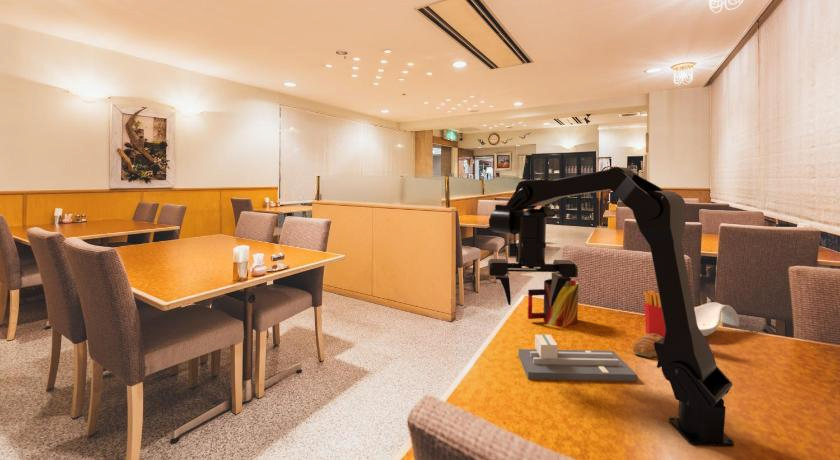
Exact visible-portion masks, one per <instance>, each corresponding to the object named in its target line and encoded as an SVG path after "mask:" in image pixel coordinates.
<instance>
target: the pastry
mask: <svg viewBox="0 0 840 460" xmlns="http://www.w3.org/2000/svg"><path fill="white" fill-rule="evenodd" d="M661 338H663V337H662V336H660V335H658V334H646V333H645V334H643V335H642V336H638V337H637V339H635V340H634V342H633V344H632V345H633V347H632V352H633V353H634V355H639V356H641V357H642V356H643V357H645V358H652V357H653V358H655V357H657V354H656V351H655V348H654V343H655V342H656V341H658V340H660V339H661Z"/></svg>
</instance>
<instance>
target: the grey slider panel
mask: <svg viewBox="0 0 840 460" xmlns="http://www.w3.org/2000/svg"><path fill="white" fill-rule="evenodd" d="M517 349H518V348H517ZM517 352H518V355H517V356H518V358H519V360H520V363H521V365H522V367H523V370H524V372H525V375H526V377H527V380H546V381H547V380H551V381H553V380H554V381H556V380H557V381H589V382H590V381H594V382H596V381H599V382H634V383H635V382H638V374H637V373H636V372H635V370H633V369H632V368H631V367H630V366H629V365H628V364H627V363H626V362H625V361H624V360H623V359H622V357H620V356H619V355H618V354H617V353H616V352H615V351H614V350H597V349H596V350H592V349H591V350H590V349H589V350H588V349H586V350H585V349H584V350H583V349H558V355H557V359H554V358H540V356H539V354H538V352H537V350H536V348H534V349H531V348H530V349H528V348H524V349H523V348H519V349H518V351H517Z"/></svg>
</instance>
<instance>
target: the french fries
mask: <svg viewBox="0 0 840 460" xmlns="http://www.w3.org/2000/svg"><path fill="white" fill-rule="evenodd" d="M643 295H644V300H645V302H643V303H644V304H643V305H644V318H645V321H644V322H645V335H646V334H658V335H660V336H662V337H664V336H665V324H664V318H663V313H662V308H661V302H660V297H659V292H656V291H655V290H646V291H643Z"/></svg>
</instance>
